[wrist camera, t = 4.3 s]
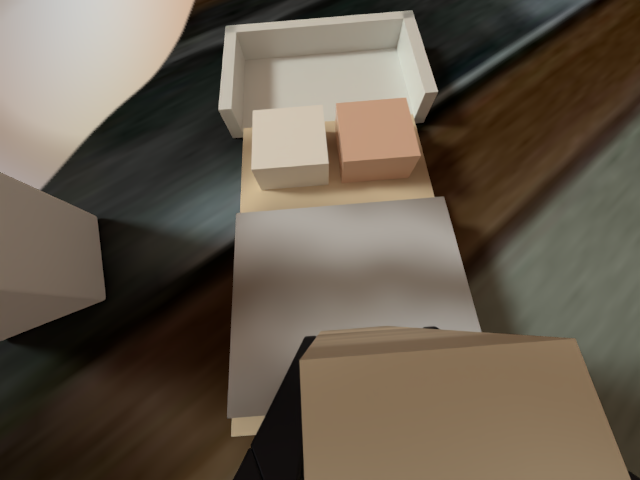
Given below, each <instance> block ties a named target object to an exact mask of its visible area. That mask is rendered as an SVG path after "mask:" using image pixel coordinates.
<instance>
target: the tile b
mask: <svg viewBox="0 0 640 480" xmlns="http://www.w3.org/2000/svg"><path fill="white" fill-rule="evenodd" d="M335 135H336V143H337V152H338V160H339V169H340V177H341V183H351V182H364V181H376V180H389V179H401V178H409V176H410V174H411V173H412V171H413V169H414V167H415V166H416V164H417V162H418V160H419V158H420V157H421V153H420V149H419V146H418V142H417V138H416V134H415V130H414V126H413V122H412V118H411V114H410V111H409V107H408V103H407V99H406V98H393V99H381V100H369V101H357V102H344V103H336V115H335Z"/></svg>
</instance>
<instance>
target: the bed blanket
mask: <svg viewBox="0 0 640 480" xmlns="http://www.w3.org/2000/svg"><path fill="white" fill-rule="evenodd" d="M429 326H435V327H437V328H439V329H426V328H423V327H429ZM305 336H316V338H315V340H314V341H313V342H312V344H311V345H310V346H309V348H308V349H307V351H306V352H305V353H304V355H303V356H302V357H301V359H300V360H299V361H300V385H301V409H302V433H303V457H304V480H631V478H630V476H629V473H628V471H627V468H626V466H625V463H624V461H623V458H622V456H621V453H620V451H619V448H618V446H617V443H616V440H615V438H614V435H613V433H612V430H611V428H610V425H609V423H608V420H607V418H606V415H605V413H604V410H603V407H602V405H601V402H600V400H599V397H598V395H597V392H596V390H595V387H594V385H593V382H592V380H591V377H590V375H589V372H588V369H587V367H586V364H585V362H584V359H583V357H582V354H581V352H580V349H579V347H578V344H577V342H576V339H574V338H559V337H544V336H529V335H515V334H500V333H485V332H481V328H480V325H479V321H478V318H477V314H476V310H475V307H474V303H473V300H472V296H471V292H470V289H469V285H468V281H467V278H466V274H465V271H464V267H463V263H462V260H461V256H460V253H459V249H458V245H457V242H456V238H455V235H454V231H453V227H452V224H451V220H450V217H449V213H448V209H447V206H446V202H445V199H444V197H432V198H419V199H407V200H394V201H382V202H370V203H357V204H345V205H332V206H320V207H308V208H295V209H283V210H271V211H258V212H246V213H236V229H235V252H234V274H233V296H232V318H231V340H230V362H229V384H228V406H227V418H239V417H252V416H265V415H266V413H267V411H268V409H269V407H270V405H271V403H272V401H273V399H274V397H275V395H276V393H277V391H278V389H279V387H280V385H281V383H282V381H283V379H284V377H285V375H286V373H287V371H288V369H289V367H290V365H291V363H292V361H293V359H294V357H295V355H296V353H297V351H298V349H299V347H300V345H301V343H302V341H303V339H304V337H305Z"/></svg>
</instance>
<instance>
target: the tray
mask: <svg viewBox="0 0 640 480" xmlns="http://www.w3.org/2000/svg"><path fill="white" fill-rule="evenodd" d="M437 94H438V89H437V86H436V83H435V80H434V77H433V74H432V71H431V68H430V64H429V61H428V58H427V55H426V52H425V49H424V46H423V43H422V39H421V36H420V33H419V30H418V27H417V24H416V21H415V17H414V14H413V11H400V12H388V13H376V14H364V15H352V16H340V17H328V18H316V19H304V20H292V21H280V22H268V23H256V24H244V25H232V26H226V29H225V40H224V52H223V63H222V75H221V86H220V98H219V109H218V110H219V112H220V114H221V116H222V118H223V120H224V122H225V124H226V126H227V127H228V129H229V131H230V133H231V135H232V137H233V138H242V137H243V130H244V128H252V119H253V110H264V109H276V108H288V107H300V106H312V105H323V112H324V122H325V121H335V115H336V103H344V102H357V101H369V100H381V99H393V98H406V99H407V103H408V107H409V111H410V114H413V116H414V120H415V123H424V120H425V118H426V116H427V114H428V112H429V110H430V108H431V106H432V104H433V102H434V100H435V98H436V96H437Z"/></svg>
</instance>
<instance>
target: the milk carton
mask: <svg viewBox="0 0 640 480" xmlns="http://www.w3.org/2000/svg"><path fill="white" fill-rule="evenodd" d="M105 299H106V294H105V284H104V275H103V266H102V257H101V247H100V238H99V229H98V221H97V217H96V216H94V215H92V214H90V213H88V212H86V211H84V210H82V209H79V208H77V207H75V206H73V205H71V204H68V203H66V202H64V201H62V200H60V199H58V198H55V197H53V196H51V195H49V194H47V193H44V192H42V191H40V190H38V189H36V188H33V187H31V186H29V185H27V184H25V183H23V182H20V181H18V180H16V179H14V178H12V177H9V176H7V175H5V174H3V173H1V172H0V341H2V340H5V339H7V338H10V337H12V336H15V335H17V334H20V333H22V332H25V331H28V330H30V329H33V328H35V327H38V326H40V325H43V324H45V323H48V322H50V321H53V320H56V319H58V318H61V317H63V316H66V315H68V314H71V313H73V312H76V311H78V310H81V309H84V308H86V307H89V306H91V305H94V304H96V303H99V302H101V301H103V300H105Z"/></svg>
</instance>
